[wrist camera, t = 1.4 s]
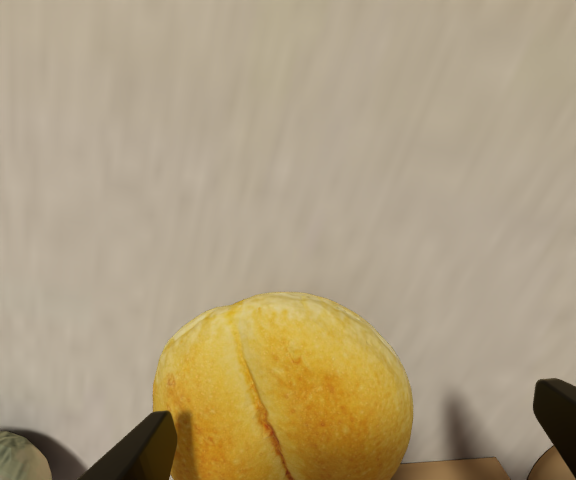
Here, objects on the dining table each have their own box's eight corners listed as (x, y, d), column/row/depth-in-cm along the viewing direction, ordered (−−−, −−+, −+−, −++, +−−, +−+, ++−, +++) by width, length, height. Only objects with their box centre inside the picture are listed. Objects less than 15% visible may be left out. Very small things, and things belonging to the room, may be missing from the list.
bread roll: (414, 432, 13) (459, 555, 9) (216, 463, 14) (183, 583, 10) (376, 254, 10) (417, 319, 7) (143, 310, 12) (65, 391, 8)
